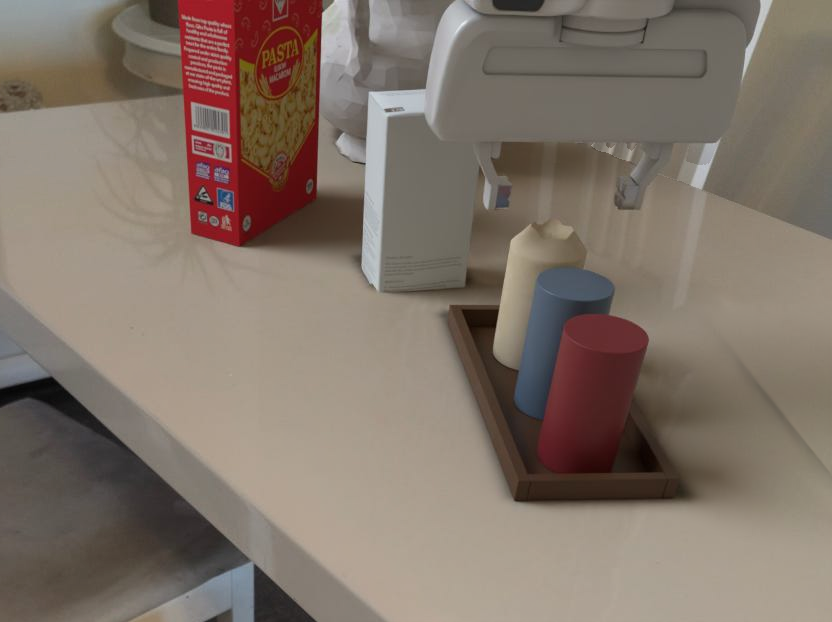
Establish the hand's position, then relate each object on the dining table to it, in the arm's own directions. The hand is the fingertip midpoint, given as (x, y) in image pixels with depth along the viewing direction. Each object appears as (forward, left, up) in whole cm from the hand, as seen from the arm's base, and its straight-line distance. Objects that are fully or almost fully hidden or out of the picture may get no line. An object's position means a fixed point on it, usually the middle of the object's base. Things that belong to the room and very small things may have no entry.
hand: (561, 207), depth 68 cm
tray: (0, +7, -12) cm, 14 cm away
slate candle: (0, +7, -11) cm, 13 cm away
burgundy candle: (0, +14, -11) cm, 18 cm away
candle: (0, 0, -12) cm, 12 cm away
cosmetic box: (+7, -14, -12) cm, 20 cm away
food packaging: (+20, -29, -12) cm, 38 cm away
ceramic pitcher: (+5, -48, -12) cm, 50 cm away
